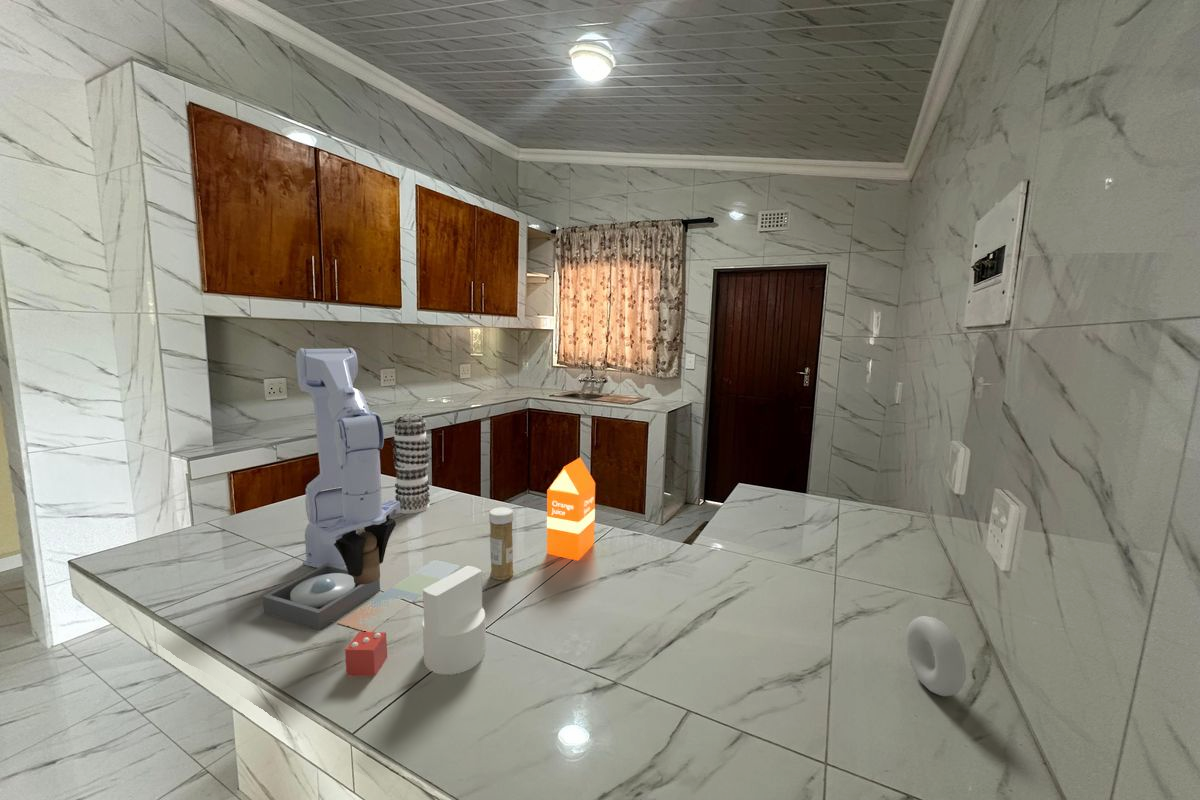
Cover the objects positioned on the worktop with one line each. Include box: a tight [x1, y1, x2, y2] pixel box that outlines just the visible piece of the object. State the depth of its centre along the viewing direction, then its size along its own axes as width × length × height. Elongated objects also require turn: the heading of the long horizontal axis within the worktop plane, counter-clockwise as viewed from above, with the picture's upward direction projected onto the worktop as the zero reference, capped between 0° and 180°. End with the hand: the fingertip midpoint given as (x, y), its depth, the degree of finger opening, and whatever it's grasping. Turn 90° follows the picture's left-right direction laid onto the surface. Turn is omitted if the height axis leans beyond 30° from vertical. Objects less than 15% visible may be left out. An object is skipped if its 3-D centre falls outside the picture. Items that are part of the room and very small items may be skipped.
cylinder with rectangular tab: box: [422, 565, 487, 676], centre depth 74 cm, size 9×9×12 cm
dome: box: [290, 573, 355, 609], centre depth 87 cm, size 10×10×4 cm
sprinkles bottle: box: [488, 506, 514, 581], centre depth 97 cm, size 5×5×14 cm
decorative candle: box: [391, 414, 431, 514], centre depth 130 cm, size 9×9×25 cm
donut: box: [905, 615, 967, 697], centre depth 69 cm, size 10×4×10 cm, turn 179°
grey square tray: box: [261, 563, 381, 631], centre depth 87 cm, size 13×13×3 cm
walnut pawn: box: [353, 531, 381, 585], centre depth 81 cm, size 4×4×8 cm
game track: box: [337, 559, 462, 632], centre depth 91 cm, size 7×24×1 cm, turn 160°
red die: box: [344, 631, 388, 677], centre depth 71 cm, size 4×4×4 cm
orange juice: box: [546, 457, 596, 561], centre depth 108 cm, size 8×9×20 cm
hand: (366, 568), depth 82 cm, fingers closed on walnut pawn, 4 cm apart
